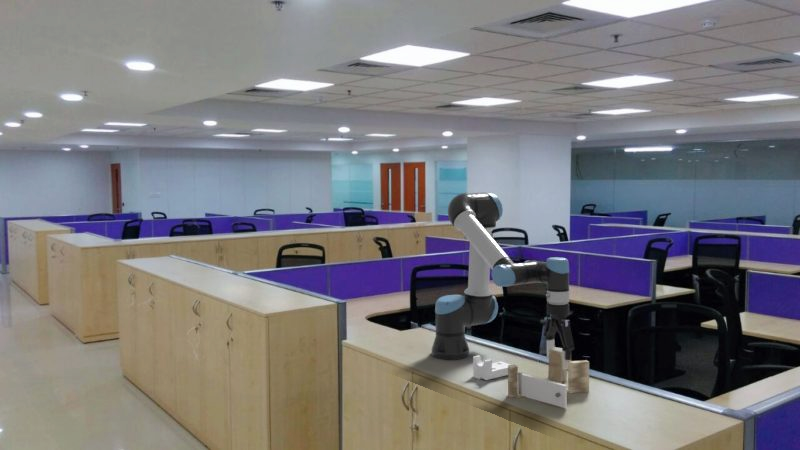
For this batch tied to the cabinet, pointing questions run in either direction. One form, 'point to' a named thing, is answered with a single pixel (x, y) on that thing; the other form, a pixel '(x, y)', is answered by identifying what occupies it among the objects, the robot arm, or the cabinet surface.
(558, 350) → the box
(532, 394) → the door
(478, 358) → the bracket
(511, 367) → the door frame
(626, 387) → the cabinet surface
